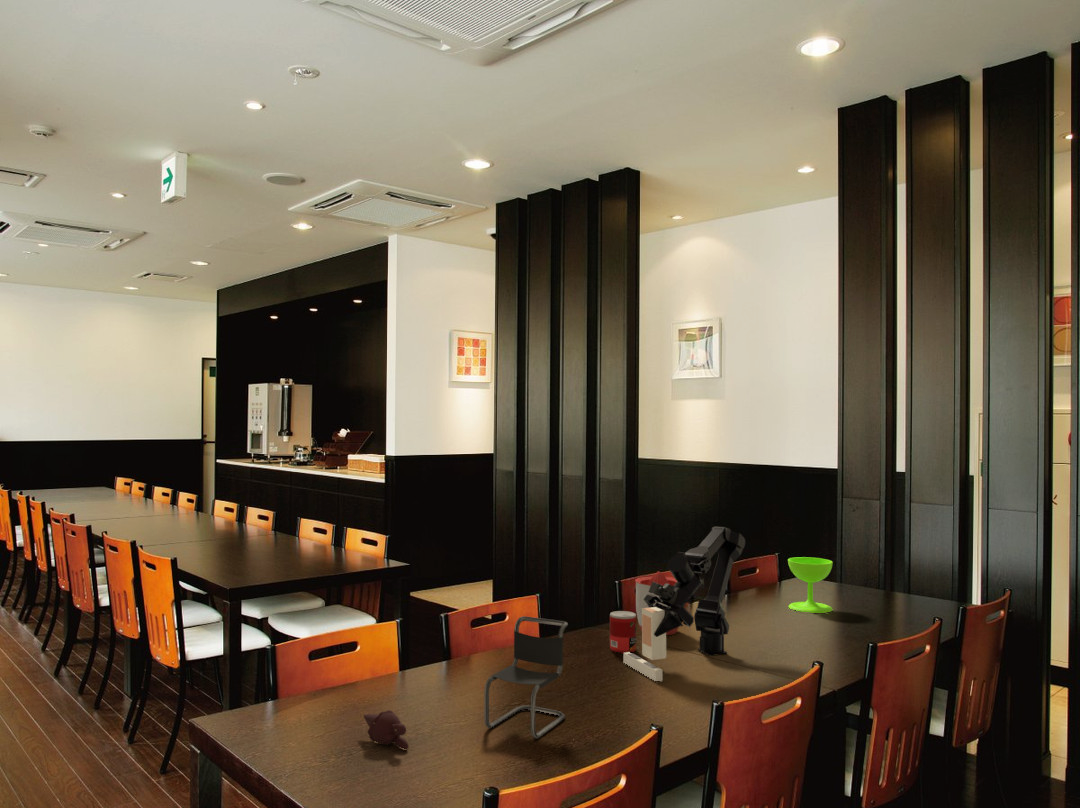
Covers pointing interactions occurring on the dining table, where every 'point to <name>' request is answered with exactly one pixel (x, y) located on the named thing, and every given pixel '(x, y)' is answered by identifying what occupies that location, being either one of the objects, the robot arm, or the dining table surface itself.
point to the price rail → (643, 666)
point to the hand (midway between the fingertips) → (649, 633)
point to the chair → (536, 652)
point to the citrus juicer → (642, 591)
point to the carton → (651, 643)
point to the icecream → (386, 728)
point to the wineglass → (810, 581)
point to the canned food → (623, 631)
